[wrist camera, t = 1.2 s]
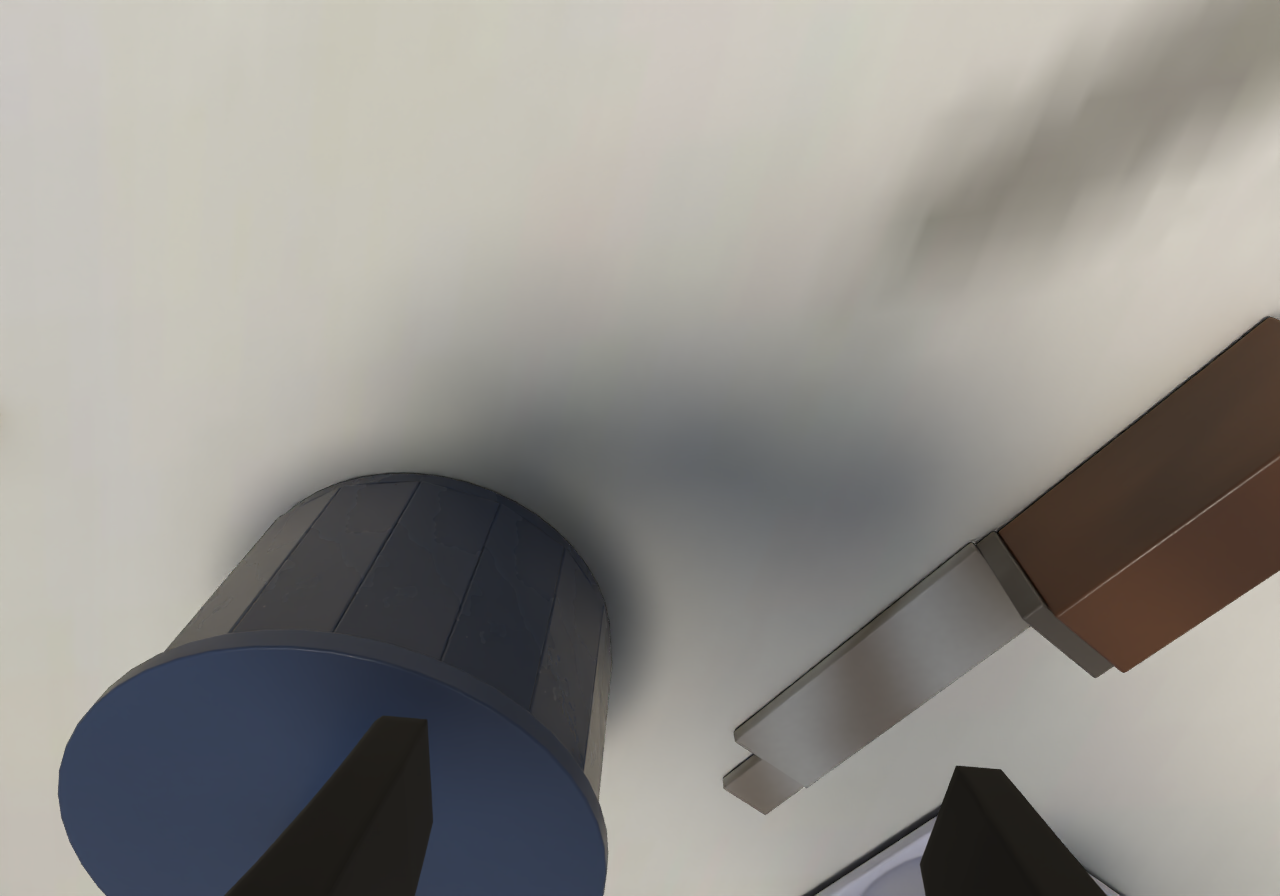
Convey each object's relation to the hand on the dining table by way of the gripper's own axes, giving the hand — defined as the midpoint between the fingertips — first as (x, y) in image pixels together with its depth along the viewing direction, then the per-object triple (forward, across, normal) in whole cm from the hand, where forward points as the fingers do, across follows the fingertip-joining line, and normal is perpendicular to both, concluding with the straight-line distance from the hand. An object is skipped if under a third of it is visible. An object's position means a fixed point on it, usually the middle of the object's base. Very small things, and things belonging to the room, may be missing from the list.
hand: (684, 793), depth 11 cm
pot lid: (+3, +6, +6) cm, 9 cm away
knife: (+10, -8, +3) cm, 13 cm away
